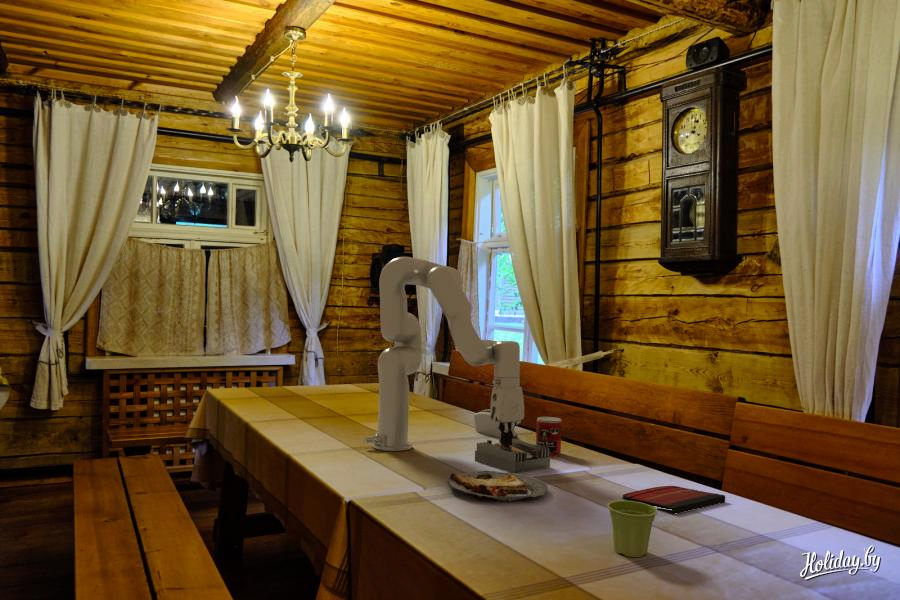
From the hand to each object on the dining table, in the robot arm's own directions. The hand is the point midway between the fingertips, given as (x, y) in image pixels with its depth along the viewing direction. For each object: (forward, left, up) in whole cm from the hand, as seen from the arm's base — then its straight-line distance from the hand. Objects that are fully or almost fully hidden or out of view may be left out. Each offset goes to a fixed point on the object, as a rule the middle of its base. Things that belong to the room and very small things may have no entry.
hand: (506, 444), depth 208 cm
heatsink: (-1, -3, -5) cm, 6 cm away
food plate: (-24, -22, -6) cm, 32 cm away
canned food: (+19, +1, -5) cm, 20 cm away
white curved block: (+25, +32, -5) cm, 41 cm away
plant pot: (-31, -68, -5) cm, 74 cm away
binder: (+9, -51, -6) cm, 52 cm away
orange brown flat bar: (-1, -3, -1) cm, 3 cm away
